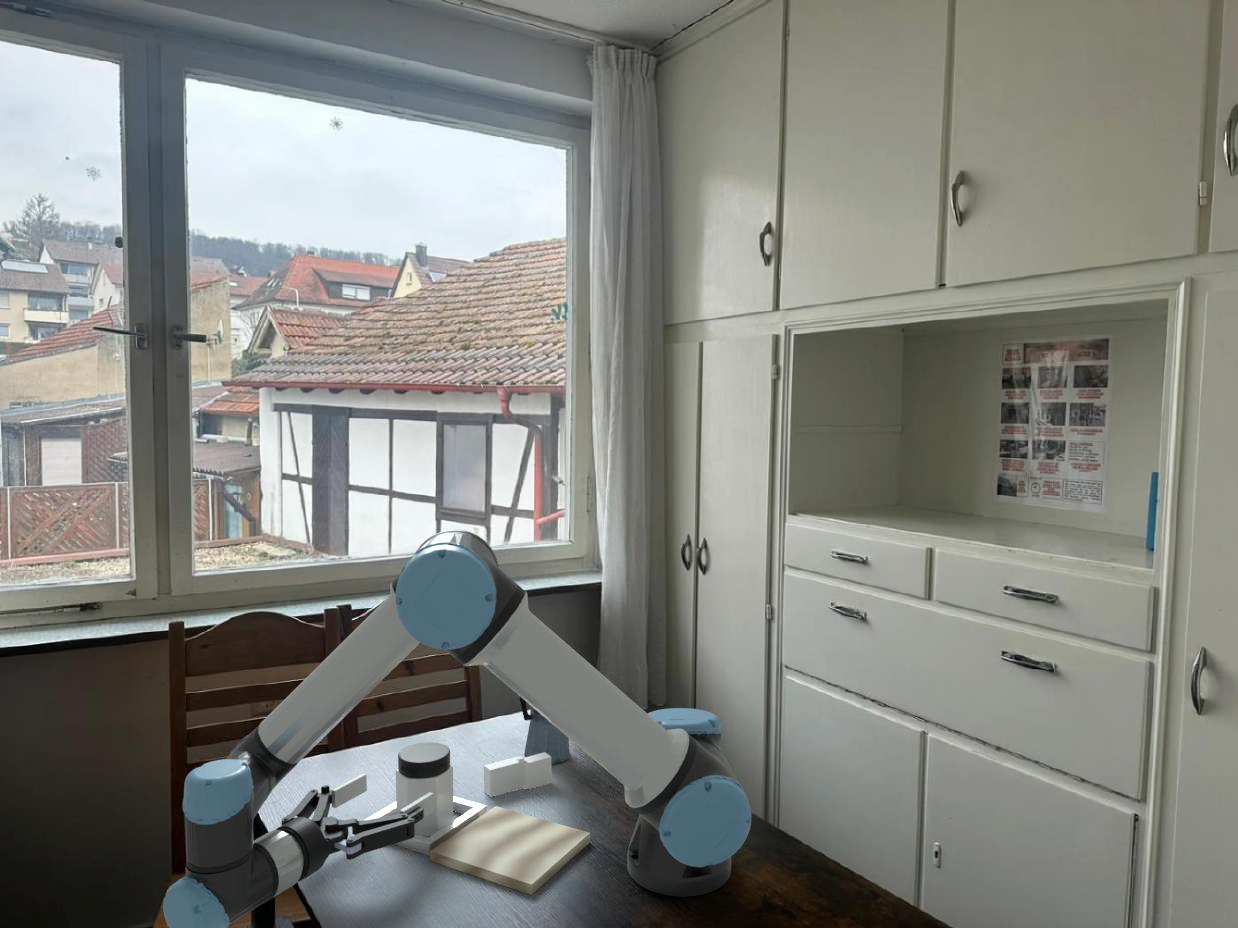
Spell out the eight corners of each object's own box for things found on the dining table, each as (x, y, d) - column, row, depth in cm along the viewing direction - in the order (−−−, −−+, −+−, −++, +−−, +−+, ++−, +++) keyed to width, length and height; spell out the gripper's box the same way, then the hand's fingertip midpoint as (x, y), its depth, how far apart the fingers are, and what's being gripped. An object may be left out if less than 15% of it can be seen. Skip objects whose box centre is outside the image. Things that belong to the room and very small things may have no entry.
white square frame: (487, 815, 140) (486, 805, 139) (429, 855, 127) (429, 844, 127) (421, 796, 146) (421, 786, 146) (360, 833, 134) (360, 822, 134)
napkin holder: (472, 804, 145) (471, 772, 144) (486, 775, 156) (486, 745, 155) (559, 807, 144) (559, 774, 143) (567, 777, 155) (567, 747, 154)
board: (590, 842, 131) (590, 832, 131) (531, 894, 117) (531, 884, 117) (495, 814, 140) (495, 805, 140) (430, 860, 126) (430, 851, 126)
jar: (393, 839, 132) (392, 764, 131) (399, 814, 140) (398, 743, 139) (452, 835, 133) (451, 761, 132) (454, 810, 141) (454, 740, 140)
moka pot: (590, 748, 167) (590, 648, 165) (542, 778, 154) (542, 669, 152) (551, 738, 172) (550, 641, 170) (501, 766, 159) (500, 661, 157)
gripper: (224, 859, 119) (339, 796, 138) (355, 909, 107) (462, 834, 126) (222, 807, 119) (338, 751, 137) (354, 852, 107) (461, 785, 126)
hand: (397, 791), depth 132 cm, fingers open, 13 cm apart
